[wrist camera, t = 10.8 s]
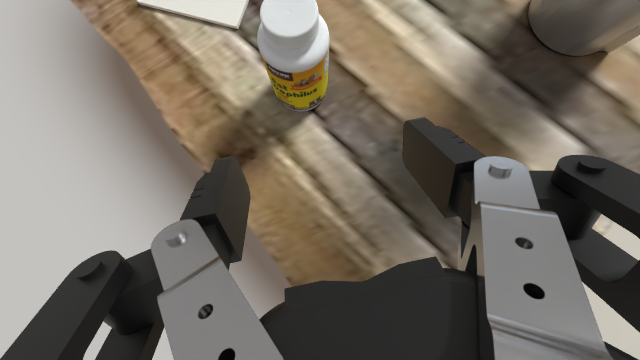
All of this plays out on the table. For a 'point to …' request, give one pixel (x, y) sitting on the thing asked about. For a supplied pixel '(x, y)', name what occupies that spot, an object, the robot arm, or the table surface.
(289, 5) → the supplement bottle
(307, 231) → the table surface
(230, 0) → the white square tile
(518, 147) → the table surface
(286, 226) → the table surface
